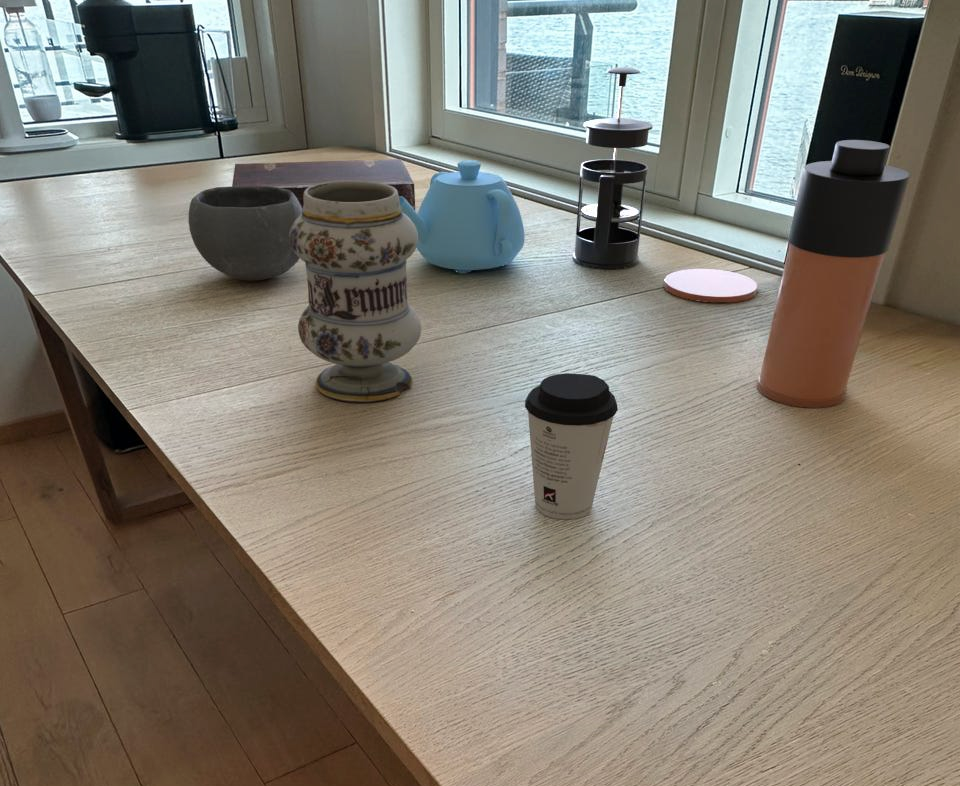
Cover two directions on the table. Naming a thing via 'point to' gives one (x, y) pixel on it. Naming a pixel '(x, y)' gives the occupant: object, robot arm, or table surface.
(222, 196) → the bowl
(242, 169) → the hardback book
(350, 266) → the apothecary jar
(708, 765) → the table surface
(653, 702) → the table surface
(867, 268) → the cylinder
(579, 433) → the coffee cup
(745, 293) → the coaster
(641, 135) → the french press
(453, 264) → the teapot
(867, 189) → the shaker lid
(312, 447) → the table surface
